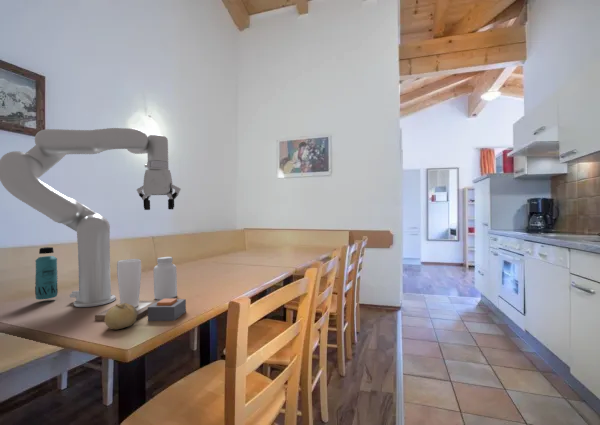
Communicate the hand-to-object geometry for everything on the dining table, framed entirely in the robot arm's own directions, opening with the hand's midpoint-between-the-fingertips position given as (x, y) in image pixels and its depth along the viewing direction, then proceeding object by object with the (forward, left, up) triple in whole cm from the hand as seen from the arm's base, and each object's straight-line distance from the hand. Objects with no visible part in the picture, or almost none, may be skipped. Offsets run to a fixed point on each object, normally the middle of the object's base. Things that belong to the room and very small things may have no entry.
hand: (159, 209), depth 121 cm
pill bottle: (+5, -6, -34) cm, 34 cm away
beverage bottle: (-38, -10, -34) cm, 52 cm away
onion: (+7, -36, -34) cm, 49 cm away
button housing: (+16, -27, -33) cm, 46 cm away
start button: (+16, -27, -32) cm, 44 cm away
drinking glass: (+2, -23, -32) cm, 39 cm away
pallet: (+2, -23, -33) cm, 41 cm away
